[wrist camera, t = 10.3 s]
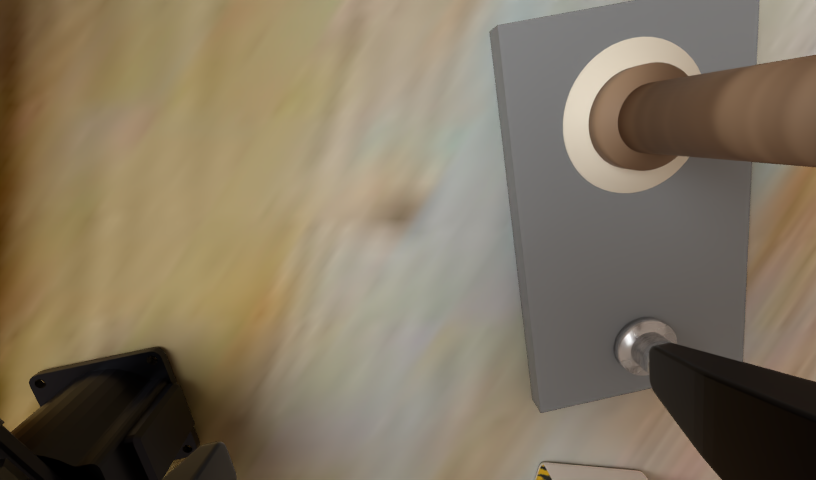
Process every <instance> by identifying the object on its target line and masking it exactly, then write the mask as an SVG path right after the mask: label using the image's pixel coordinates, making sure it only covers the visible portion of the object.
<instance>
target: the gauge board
mask: <svg viewBox="0 0 816 480" xmlns="http://www.w3.org/2000/svg"><path fill="white" fill-rule="evenodd" d="M758 21H759V0H634V1H628V2H623V3H617V4H612V5H606V6H601V7H595V8H590V9H584V10H579V11H573V12H568V13H562V14H557V15H551V16H546V17H540V18H534V19H529V20H523V21H518V22H512V23H507V24H501V25H497V26H496V27H495V28H493V29H492V30H491V31H490V40H491V48H492V57H493V65H494V74H495V82H496V91H497V100H498V108H499V117H500V125H501V134H502V143H503V151H504V160H505V168H506V177H507V185H508V194H509V203H510V211H511V220H512V228H513V237H514V246H515V254H516V263H517V271H518V280H519V288H520V297H521V306H522V314H523V323H524V331H525V340H526V349H527V357H528V366H529V374H530V383H531V391H532V400H533V401H534V403H535V405H536V406H537V408H538V409H539V411H540V413H543V412H548V411H552V410H557V409H561V408H565V407H570V406H574V405H579V404H583V403H588V402H592V401H596V400H601V399H605V398H610V397H614V396H618V395H623V394H627V393H632V392H636V391H641V390H645V389H649V388H652V387H651V384H650V380H649V375H645V376H640V375H635V374H632V373H630V372H629V371H627V370H626V369H625V368H624V367H623V366H622V365H621V364H620V363H619V362H618V361H617V360H616V358H615V355H614V350H613V346H614V341H615V338H616V336H617V334H618V333H619V331H620V330H621V329H622V328H623V327H624V326H625V325H626V324H627V323H629V322H630V321H632V320H634V319H637V318H640V317H653V318H656V319H659V320H660V321H662V322H663V323H665V324H666V325H668V326H669V327H671V328H672V330H673V331H674V333H675V335H676V338H677V344H679V345H682V346H686V347H690V348H693V349H697V350H701V351H704V352H708V353H712V354H715V355H719V356H723V357H726V358H730V359H734V360H737V361H741V362H743V345H744V324H745V302H746V280H747V259H748V237H749V216H750V194H751V172H752V162H747V161H735V160H723V159H711V158H699V157H687V156H677V157H676V158H675V159H674V160H672V161H671V162H670V163H668V164H666V165H664V166H662V167H659V168H657V169H653V170H647V171H637V170H630V169H624V168H618V167H615V166H613V165H611V164H609V163H607V162H606V161H604V160H603V159H602V158H601V157H600V156H599V155H598V153H597V152H596V150H595V149H594V147H593V145H592V142H591V139H590V135H589V114H590V110H591V107H592V104H593V101H594V99H595V97H596V95H597V94H598V92H599V90H600V89H601V88H602V86H603V85H604V84H605V83H606V82H607V81H608V80H609V79H610V78H611V77H613V76H614V75H615V74H617V73H619V72H620V71H622V70H625V69H627V68H630V67H634V66H638V65H643V64H647V63H653V62H663V63H668V64H671V65H674V66H676V67H678V68H680V69H681V70H682V71H684V72H685V73H686V74H687V75H688V76H692V75H698V74H704V73H710V72H716V71H722V70H728V69H734V68H740V67H746V66H752V65H756V64H757V42H758Z"/></svg>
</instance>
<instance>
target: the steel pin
mask: <svg viewBox="0 0 816 480" xmlns="http://www.w3.org/2000/svg"><path fill="white" fill-rule="evenodd" d="M664 343H675V344H677V338H676V335H675V333H674V331H673V330H672V328H671V327H669V326H668V325H666V324H665V323H663V322H662V321H660V320H659V319H656V318H653V317H640V318H637V319H634V320H632V321H630V322H629V323H627V324H626V325H625V326H624V327H623V328H622V329H621V330H620V331H619V333H618V334H617V336H616V338H615V341H614V346H613V350H614V355H615V358H616V360H617V361H618V362H619V363H620V364H621V365H622V366H623V367H624V368H625V369H626V370H627V371H629V372H630V373H632V374H635V375H640V376H645V375H649V350H650V348H651V347H652V346H655V345H659V344H664Z"/></svg>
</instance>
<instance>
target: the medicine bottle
mask: <svg viewBox="0 0 816 480" xmlns="http://www.w3.org/2000/svg"><path fill="white" fill-rule="evenodd" d="M535 480H648V479H647V477H646V476H645V475H644V474H643V473H642V472H641V471H637V470H625V469H614V468H603V467H592V466H581V465H570V464H559V463H548V462H543V463H541V464H540V466H539V468H538V471H537V474H536V477H535Z"/></svg>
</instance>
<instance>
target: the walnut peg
mask: <svg viewBox="0 0 816 480" xmlns="http://www.w3.org/2000/svg"><path fill="white" fill-rule="evenodd" d="M589 135H590V139H591V142H592V145H593V147H594V149H595V150H596V152H597V153H598V155H599V156H600V157H601V158H602V159H603V160H604V161H606V162H607V163H609V164H611V165H613V166H615V167H618V168H624V169H630V170H637V171H647V170H653V169H657V168H659V167H662V166H664V165H666V164H668V163H670V162H671V161H672V160H674V159H675V158H676V157H677V156H687V157H699V158H711V159H723V160H735V161H747V162H759V163H771V164H783V165H796V166H808V167H816V55H812V56H806V57H800V58H794V59H788V60H782V61H776V62H770V63H764V64H758V65H752V66H746V67H740V68H734V69H728V70H722V71H716V72H710V73H704V74H698V75H692V76H688V75H687V74H686V73H685V72H684V71H682V70H681V69H680V68H678V67H676V66H674V65H671V64H668V63H663V62H653V63H647V64H643V65H638V66H634V67H630V68H627V69H625V70H622V71H620V72H619V73H617V74H615V75H614V76H613V77H611V78H610V79H609V80H608V81H607V82H606V83H605V84H604V85H603V86H602V88H601V89H600V90H599V92H598V94H597V95H596V97H595V99H594V101H593V104H592V107H591V110H590V114H589Z"/></svg>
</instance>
